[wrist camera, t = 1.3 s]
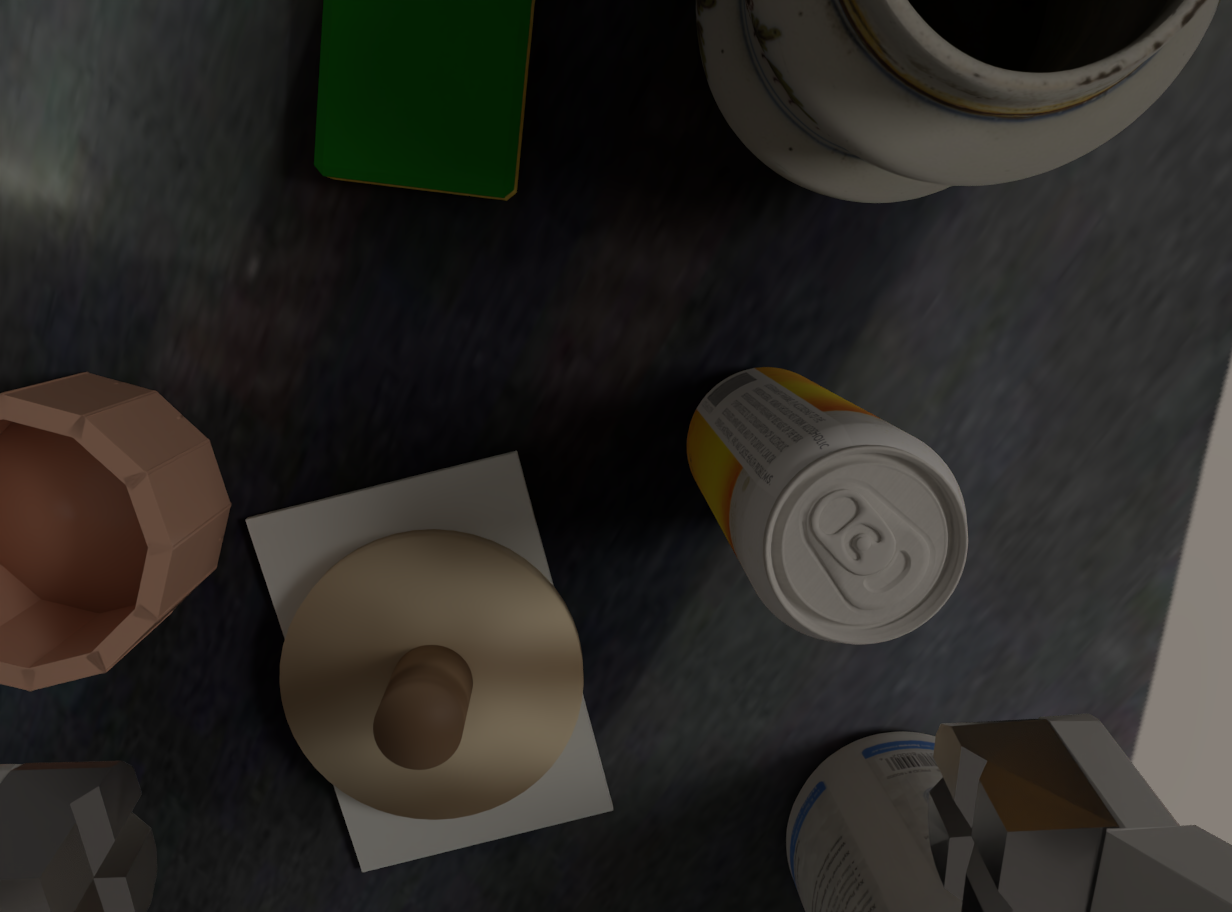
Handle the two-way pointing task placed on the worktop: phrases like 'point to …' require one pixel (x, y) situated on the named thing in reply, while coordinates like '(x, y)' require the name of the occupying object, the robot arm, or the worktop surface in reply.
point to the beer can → (828, 507)
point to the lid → (432, 674)
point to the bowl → (97, 523)
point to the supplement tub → (868, 829)
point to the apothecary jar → (937, 84)
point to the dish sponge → (424, 93)
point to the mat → (442, 499)
